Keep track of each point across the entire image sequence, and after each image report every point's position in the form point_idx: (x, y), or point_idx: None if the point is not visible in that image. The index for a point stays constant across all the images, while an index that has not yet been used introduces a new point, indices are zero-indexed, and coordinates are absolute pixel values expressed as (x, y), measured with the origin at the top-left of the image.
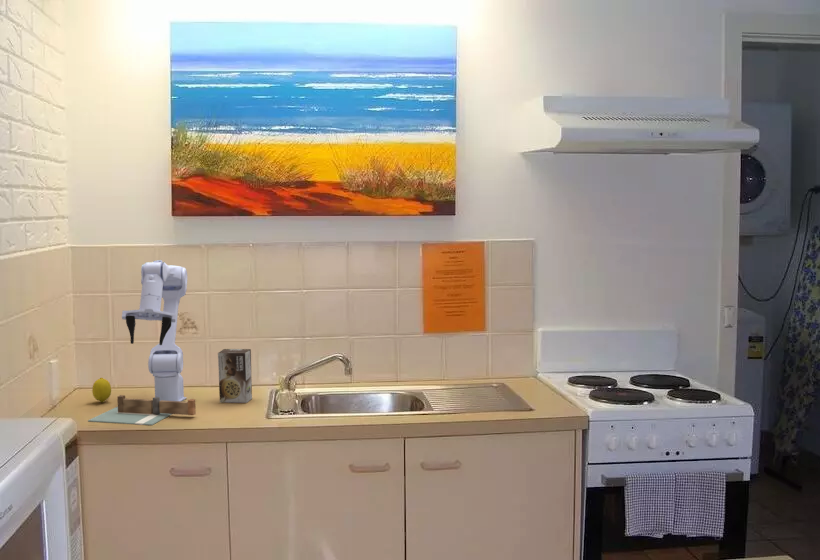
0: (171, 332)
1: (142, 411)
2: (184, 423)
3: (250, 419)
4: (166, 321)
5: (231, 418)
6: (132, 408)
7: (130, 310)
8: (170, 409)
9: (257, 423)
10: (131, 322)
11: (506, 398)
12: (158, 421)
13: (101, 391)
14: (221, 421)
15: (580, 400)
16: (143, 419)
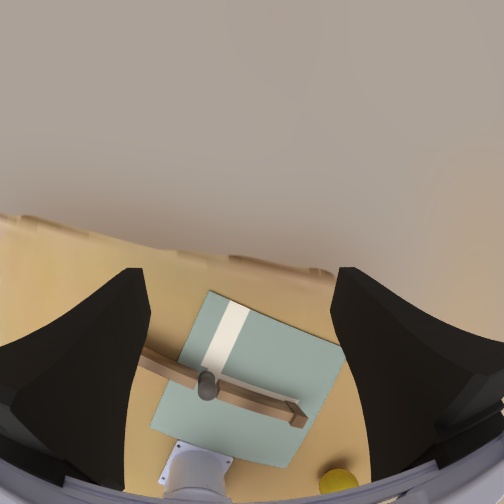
0: None
1: (240, 388)
2: None
3: (18, 280)
4: (5, 360)
5: (46, 300)
6: (265, 398)
7: None
8: (169, 361)
9: (11, 246)
10: (447, 337)
11: None
12: (196, 319)
13: (340, 475)
14: (63, 282)
15: None
16: (232, 335)
